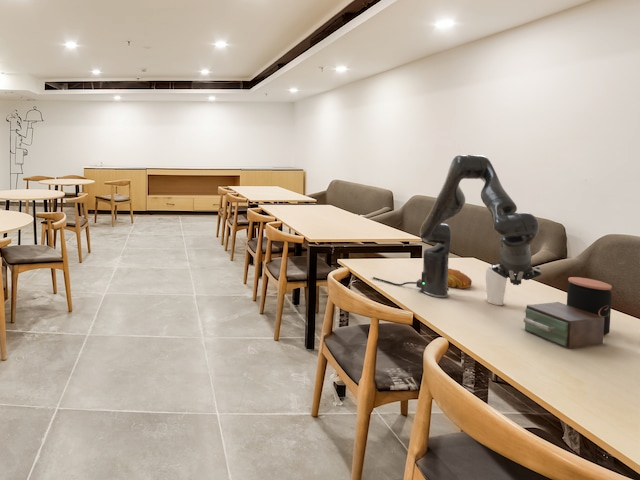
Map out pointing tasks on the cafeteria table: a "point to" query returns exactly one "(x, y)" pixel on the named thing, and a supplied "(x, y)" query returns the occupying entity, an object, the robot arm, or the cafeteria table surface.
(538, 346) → the cafeteria table surface
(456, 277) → the croissant
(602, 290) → the coffee jar
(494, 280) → the white cup
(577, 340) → the cabinet
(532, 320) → the drawer
